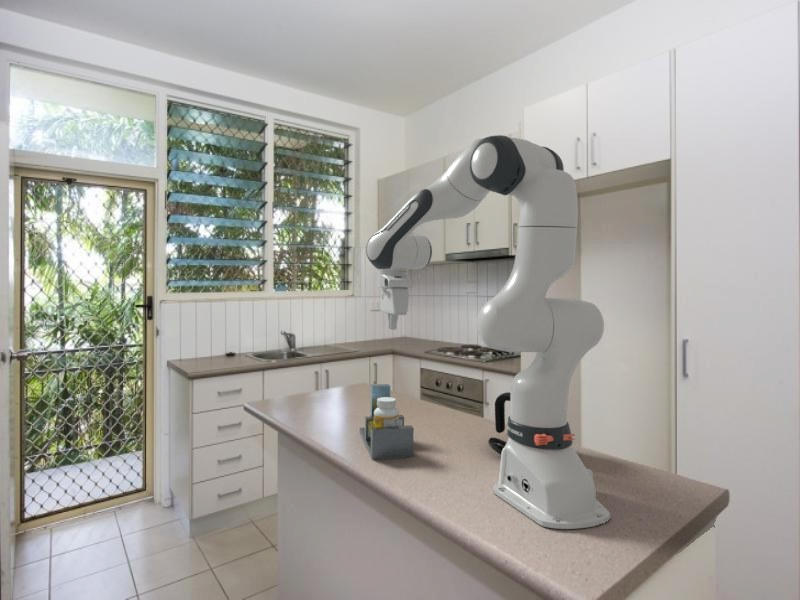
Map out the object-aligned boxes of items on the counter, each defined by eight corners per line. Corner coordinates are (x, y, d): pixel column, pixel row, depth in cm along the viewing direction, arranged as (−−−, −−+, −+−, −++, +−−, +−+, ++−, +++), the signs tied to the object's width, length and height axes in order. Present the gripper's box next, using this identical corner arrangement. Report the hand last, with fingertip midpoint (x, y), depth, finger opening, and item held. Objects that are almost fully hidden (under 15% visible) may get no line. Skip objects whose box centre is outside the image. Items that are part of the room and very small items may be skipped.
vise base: (413, 456, 108) (413, 428, 108) (372, 459, 106) (372, 430, 105) (394, 431, 127) (394, 406, 127) (359, 433, 125) (359, 408, 125)
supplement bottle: (401, 447, 110) (402, 401, 110) (376, 449, 108) (377, 403, 108) (394, 439, 116) (395, 395, 116) (370, 441, 114) (371, 396, 114)
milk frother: (547, 444, 118) (549, 388, 118) (548, 466, 103) (549, 402, 103) (493, 438, 123) (494, 384, 122) (485, 458, 108) (487, 397, 107)
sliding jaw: (404, 438, 116) (404, 390, 116) (366, 440, 114) (366, 392, 114) (396, 428, 125) (397, 383, 125) (360, 430, 123) (361, 385, 122)
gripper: (375, 282, 140) (375, 326, 140) (390, 280, 120) (389, 332, 120) (395, 282, 141) (395, 326, 141) (412, 281, 121) (412, 332, 121)
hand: (392, 329), depth 131 cm, fingers closed
